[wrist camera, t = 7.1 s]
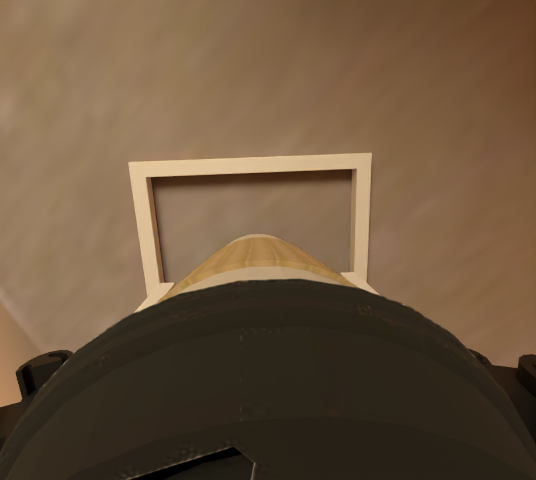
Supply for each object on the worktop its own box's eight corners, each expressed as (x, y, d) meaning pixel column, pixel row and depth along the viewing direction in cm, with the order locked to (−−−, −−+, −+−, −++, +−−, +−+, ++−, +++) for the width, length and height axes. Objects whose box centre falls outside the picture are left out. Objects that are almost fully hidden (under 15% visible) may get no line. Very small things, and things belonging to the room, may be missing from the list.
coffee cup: (212, 365, 19) (91, 945, 5) (157, 233, 17) (-385, 542, 3) (348, 322, 19) (657, 781, 5) (309, 183, 17) (658, 208, 2)
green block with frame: (134, 162, 20) (56, 152, 12) (365, 154, 20) (437, 138, 12) (174, 452, 25) (139, 577, 17) (356, 437, 26) (401, 549, 18)
